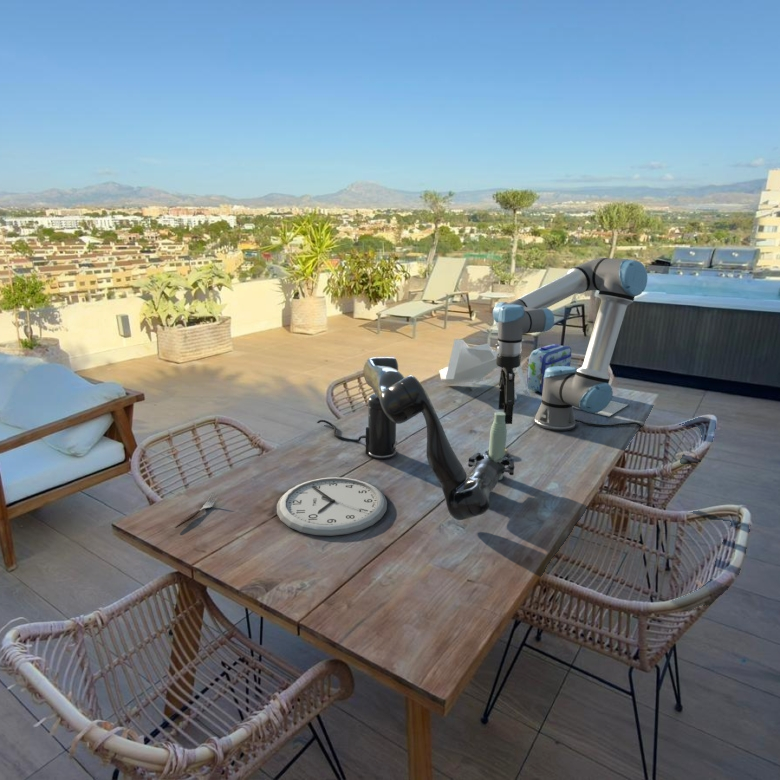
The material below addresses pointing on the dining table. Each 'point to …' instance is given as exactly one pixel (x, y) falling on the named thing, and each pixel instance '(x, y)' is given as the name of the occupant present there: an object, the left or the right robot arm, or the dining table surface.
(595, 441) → the dining table surface
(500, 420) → the bottle
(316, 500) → the wall clock
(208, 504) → the fork
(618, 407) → the invitation card
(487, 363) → the white plastic object
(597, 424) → the right robot arm
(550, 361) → the lunch box
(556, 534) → the dining table surface
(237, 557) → the dining table surface
